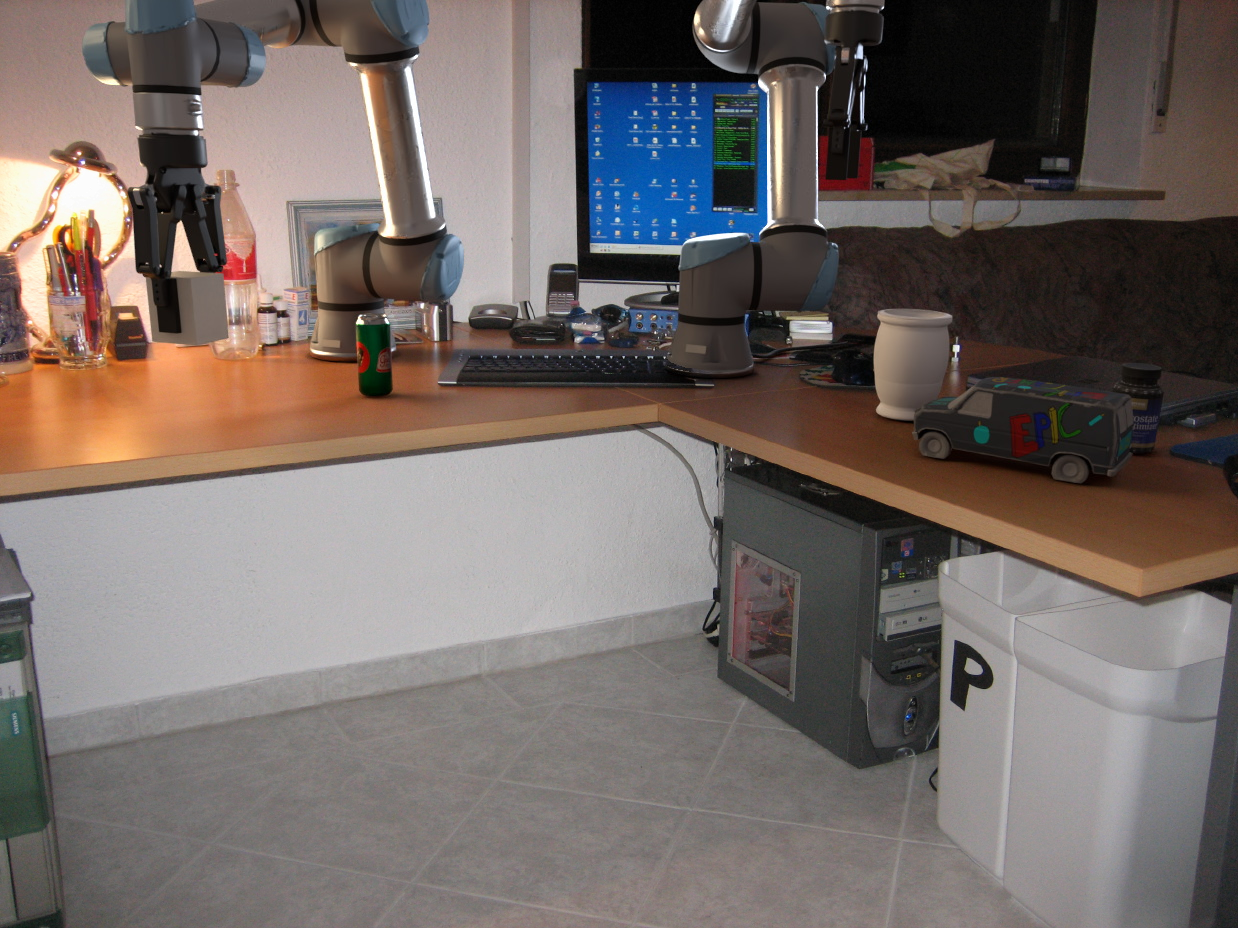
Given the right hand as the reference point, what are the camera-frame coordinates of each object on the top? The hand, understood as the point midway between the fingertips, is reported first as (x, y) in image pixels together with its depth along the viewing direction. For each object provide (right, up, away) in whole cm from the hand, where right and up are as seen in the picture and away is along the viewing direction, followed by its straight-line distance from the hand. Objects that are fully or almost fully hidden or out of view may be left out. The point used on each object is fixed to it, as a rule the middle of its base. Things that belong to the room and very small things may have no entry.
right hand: (842, 179), depth 147 cm
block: (-84, -24, -14) cm, 88 cm away
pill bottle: (+36, -37, -6) cm, 53 cm away
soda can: (-68, -29, +16) cm, 75 cm away
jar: (+11, -32, +10) cm, 35 cm away
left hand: (-84, -22, -15) cm, 88 cm away
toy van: (+19, -39, -13) cm, 45 cm away
